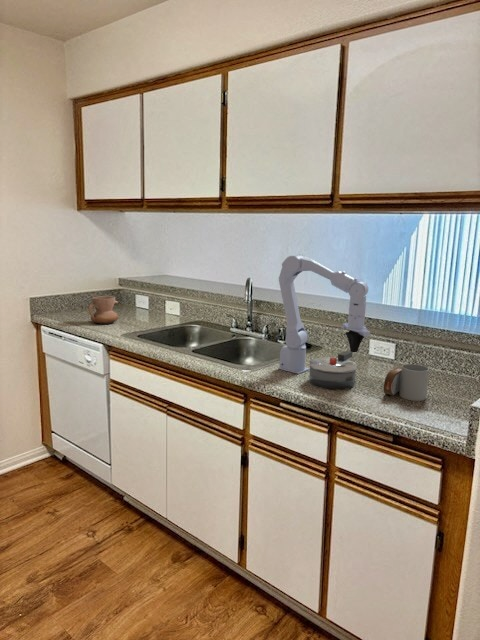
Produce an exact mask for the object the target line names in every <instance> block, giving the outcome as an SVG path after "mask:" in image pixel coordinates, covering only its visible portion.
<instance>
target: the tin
mask: <svg viewBox="0 0 480 640" xmlns="http://www.w3.org/2000/svg"><path fill="white" fill-rule="evenodd" d="M401 372H402V366H401V365H398V366H396V367H394V368H392V369H390V370H389V371H388V372H387V374H386V376H385V379H384V382H383V394H385V395H389V396H395V395H397V394H398V393H400V383H401Z"/></svg>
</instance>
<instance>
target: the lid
mask: <svg viewBox="0 0 480 640" xmlns="http://www.w3.org/2000/svg"><path fill="white" fill-rule="evenodd" d="M353 353H354V352H351V351H350V350H345V351H343V352H340V353H338V354H337V357H333V356H331V357H329V356H327V357H326V356H325V357H323V356H322V357H316V358H313V359H312V358H311V360H310V361H309V368H310V367H312V368H313V369H316V370H319V371H323V372H329V373H349V372H353V371H355V370H357V368H358V366H357V363H356V362H354V361H353V360H351V361H350V360H349V359H350V358H353Z"/></svg>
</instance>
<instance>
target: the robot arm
mask: <svg viewBox="0 0 480 640" xmlns="http://www.w3.org/2000/svg"><path fill="white" fill-rule="evenodd" d="M302 272H313V273H314V274H317V275H318V276H321V277H323V278H325V279H327V280H328V281H330V284H331V285H332V286H334V287H335V288H337V289H339V290H340V291H343V292H344V293H346V294H348V295H349V303H348V304H349V307H348V320H347V322H342V325H341V326H342V329H343V330H347V331H346V332H345V336H346V338H347V340H348V344H349V349H350V350H349V351H351V352H353V353H358V351H359V349H360V346H361V344H362V341H363V339H364V338H369V337H370V334H371V331H370V330H369V329H367V326H365V319H366V310H367V309H366V307H367V302H366V301H367V296H366V295H368V293H369V286H368V284H367V283H366V282H365V281H364V280H359V279H358V277H355V278H354V277H352V276H351V275H348V274H347V272H346V271H345V270H342V271H341V270H338V271H337V270H336V271H333V270H331V269H330V268H328V267H327V266H325V265H323V264H322V263H319V262H317V261H316V260H314V259H313V258H311V257H307V256H305V255H303V254H297V255H289V256H287V257H286V258H285V259H284V260H283V262H282V263H281V270H280V273H279V276H278V282H279V284H278V285H279V288H280V293H281V299H282V303H283V308H284V314H285V318H286V328H285V335H286V336H285V344H286V345H283V346H282V347H281V349H280V352H279V366H278V367H277V368H278V370H282V371H286V372H290V373H294V374H298V375H300V374H302V373H304V372H307V371H310V367H306V358H307V357H306V356H307V345H306V343H307V342H308V340H309V333H308V331H307V330H306V329H305V325H304V324H303V322H302V319H301V315H300V309H299V305H298V299H297V294H296V288H295V283H294V281H295V279H296V278H297V277H298V276H299V274H300V273H302Z"/></svg>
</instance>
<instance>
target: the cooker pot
mask: <svg viewBox="0 0 480 640" xmlns="http://www.w3.org/2000/svg"><path fill="white" fill-rule="evenodd" d="M350 361H352V360H350ZM356 370H357V369H356ZM356 370H355V371H353V372H349V373H329V372H323V371H319V370H316V369H313V368H312V367H310V366H309V376H308V377H309V380H308V381H309V382H308V383H310V384H311V385H312V386H314V387H317V388H319V389H323V390H329V391H344V390H345V391H346V390H349V389H353V388H354V387H355V382H356V372H357V371H356Z"/></svg>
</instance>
